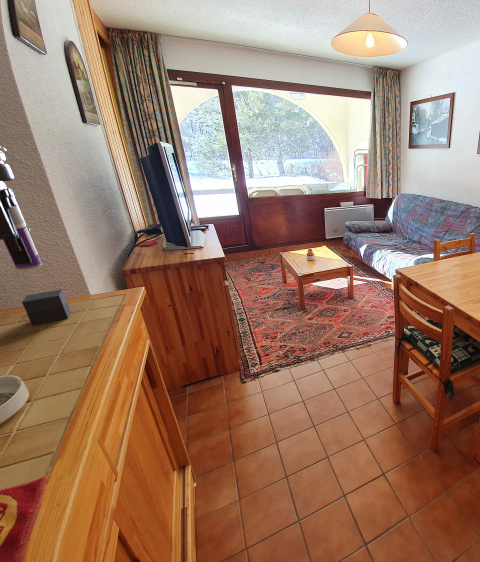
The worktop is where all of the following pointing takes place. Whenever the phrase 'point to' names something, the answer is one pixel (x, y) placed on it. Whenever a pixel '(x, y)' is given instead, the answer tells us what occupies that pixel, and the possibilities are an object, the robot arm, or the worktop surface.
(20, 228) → the container
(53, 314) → the black pad
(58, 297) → the dark grey block
